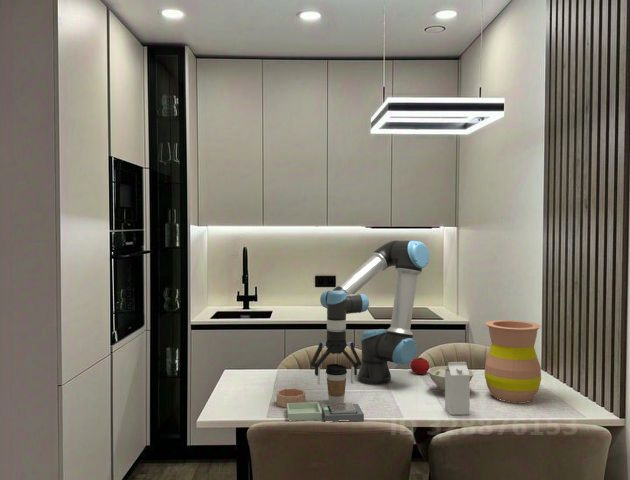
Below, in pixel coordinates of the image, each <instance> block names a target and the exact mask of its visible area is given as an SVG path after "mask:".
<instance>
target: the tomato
mask: <svg viewBox="0 0 630 480" xmlns="http://www.w3.org/2000/svg"><path fill="white" fill-rule="evenodd" d="M429 368H430V363H429V362H428V360H427V359H425V358H423V357H416V358H413V360H411V362H410V369H411V370H412V372H413V373H414V374H417V375H424V374H426V373H428V369H429Z"/></svg>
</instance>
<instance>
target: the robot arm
mask: <svg viewBox="0 0 630 480" xmlns="http://www.w3.org/2000/svg"><path fill="white" fill-rule="evenodd" d="M429 260H430V254H429V249H428V248H427V246H426V244H425V243H423V242H421V241H419V240H418V241H417V240H391V241H389V242H386V243H384V244H383V245H381V246H379V247H377V249H375V250H374V251H373V252H372V253H371V254H370V255H369V258H368V259H367V260H366V261H365V262H364V263H362V264H361V265H360V266H359V267H358V268H357V269H355V270H354V271H353V272H352V273H351V274H350V275H348V276H347V277H346V278H345V279H344V280H343V281H342V282H340V283H339V284H338V285H337V286H336V287H334V288H333V289H331V290H324V291H323V292H322V293H321V294H320V299H319V300H320V305H321V306H322V307H324V308H325V309H326V329H327V330H326V342H322V341H319V342H318V347H317V349H316V351H315V353H314V355H313V357H312V358H311V361H310V366H311V367H314V376H315V377H317V378H316V379H317V381H316V382H317V385H318V386H319V385H321V367H320V366H321V364H322V363H323V362H324V361H325V360H326V359H327V358H328V356H330V354H333V355H335V354H337V355H340V354H343V355H344V356H345V358H346V359H347V360H348V361H349V363H351V369H350V370H351V371H350V373H351V374H350V375H351V377H350V383H351V384H352V385H355V376H357V381H358V382H360V383H362V384H367V385H373V386H374V385H386V384H389V383H391V382H392V375H391V371H390V367H389V364H388V362H390V363H394V364H397V365H408V364H411V362H412V361H413V360H414V359H415V356H416V354H417V352H418V345H417V342H416V340H414V339H413V336H414V333H413V332H412V331H411V325H412V319H413V312H414V304H415V295H416V288H417V282H418V281H417V280H418V277H419V275H421V274H422V273H423V272H422V271H423V270H422V269H424V268H426V267H427V265H428V264H429ZM389 267H394V268H395V269H394V270H395V271H396V273H397V278H396V285H395V286H396V287H395V293H394V301H393V306H392V307H393V308H392V314H391V322H390V327H388V328H387V329H384V328H379V329H377V328H376V329H368V330H364V331H363V332H362V333H361V340H360V341H361V360H360V357H359V355H358V353H357V350H356V349H355V344H354V342H353V341H349V342H347V339H346V338H347V336H346V335H347V334H346V333H347V331H346V329H347V324H346V323H347V321H346V320H347V315H348V314H358V313H359V314H361V313H364V312H366V311H368V309H369V307H370V300H369V298H368V296H367V295H366V294H364V293H357V292H358V291H360V290H361V289H362V288H363V287H365V286H366V284H368V283H369V282H370V281H371V280H372V279H374V277H376V276H377V274H379V273H380V272H381V271H386V270H387V269H388V268H389ZM347 347H348V348H350V350H351V353H352V354H353V357H354V359H355V360H356V362H355V360H353V358H352V356H350V355H349V353H348V352H347V351H346V348H347ZM324 348H327V349H326V350H325V352H324V353H323V354H322V355H321V356H320V353H321V352H322V350H323V349H324ZM319 356H320V358H319ZM359 366H360V368H359V370H358V367H359ZM357 373H358V374H357Z"/></svg>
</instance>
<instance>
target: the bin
mask: <svg viewBox="0 0 630 480" xmlns="http://www.w3.org/2000/svg"><path fill="white" fill-rule="evenodd" d="M287 403H306V391H305V390H303V389H301V388H283V389H280V390H277V391H276V405H277V406H278V407H280V408H285V409H287Z"/></svg>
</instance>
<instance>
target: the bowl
mask: <svg viewBox="0 0 630 480" xmlns="http://www.w3.org/2000/svg"><path fill="white" fill-rule="evenodd" d="M447 366H448V365H441V366H438V365H437V366H433V367H429V369H428V371H427V374H428V375H429V377H430V380H431V381H432V382H433V383H434V384H435V386H437V387H438V388H439V389H441V391H442V392H441V393H442V394H443V395H445V370H446V368H447ZM468 371H469V374H470V382H471V380H472V379H473V377H474V371H473V370H471V369H468Z"/></svg>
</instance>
